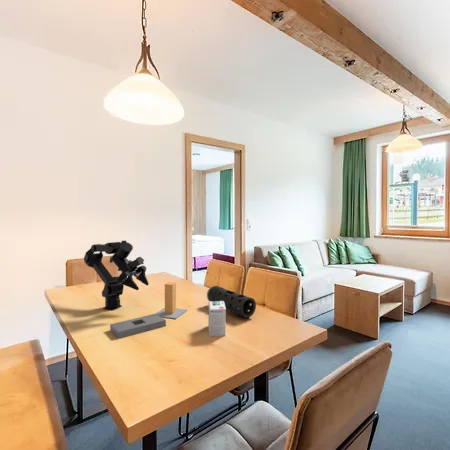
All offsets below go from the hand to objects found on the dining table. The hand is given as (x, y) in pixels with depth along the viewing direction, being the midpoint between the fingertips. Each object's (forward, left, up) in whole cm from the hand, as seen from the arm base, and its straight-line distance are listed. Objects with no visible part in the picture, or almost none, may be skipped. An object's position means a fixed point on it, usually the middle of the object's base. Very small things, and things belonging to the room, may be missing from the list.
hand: (143, 287), depth 138 cm
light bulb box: (+40, -8, -13) cm, 43 cm away
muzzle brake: (+38, +16, -13) cm, 44 cm away
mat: (+12, +4, -13) cm, 18 cm away
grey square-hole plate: (+8, -16, -13) cm, 22 cm away
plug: (+13, +4, -12) cm, 18 cm away
